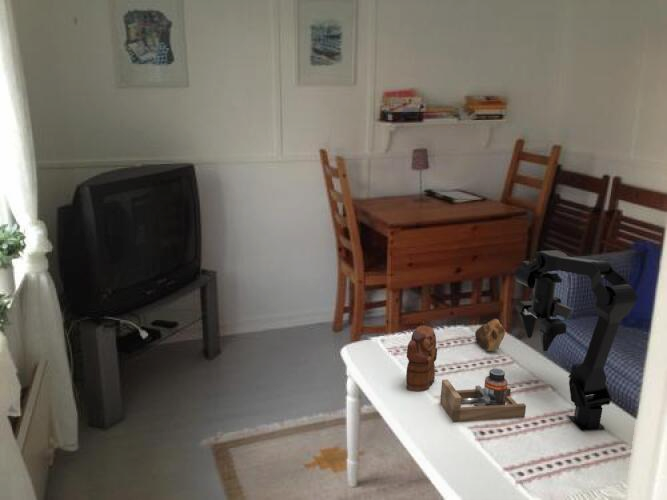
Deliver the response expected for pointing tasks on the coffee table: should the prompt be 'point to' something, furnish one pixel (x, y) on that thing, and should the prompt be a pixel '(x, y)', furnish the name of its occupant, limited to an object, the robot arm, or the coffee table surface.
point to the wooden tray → (453, 402)
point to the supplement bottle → (496, 387)
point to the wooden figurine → (421, 359)
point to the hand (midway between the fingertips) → (537, 344)
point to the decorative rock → (490, 335)
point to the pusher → (479, 397)
